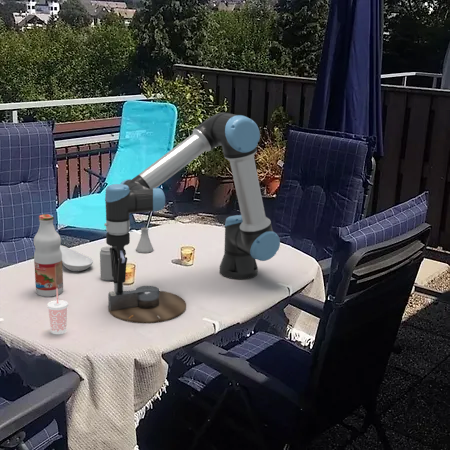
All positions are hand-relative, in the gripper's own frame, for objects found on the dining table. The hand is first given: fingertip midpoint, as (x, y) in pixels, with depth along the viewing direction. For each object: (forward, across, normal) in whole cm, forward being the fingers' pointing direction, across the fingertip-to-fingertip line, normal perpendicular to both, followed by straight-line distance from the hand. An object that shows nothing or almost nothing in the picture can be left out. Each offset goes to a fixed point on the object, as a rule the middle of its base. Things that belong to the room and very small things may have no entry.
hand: (118, 299), depth 211 cm
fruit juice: (+3, -22, -19) cm, 29 cm away
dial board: (+3, +3, +9) cm, 10 cm away
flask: (+3, -56, +27) cm, 63 cm away
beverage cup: (+3, +11, -22) cm, 25 cm away
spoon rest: (+3, -48, -8) cm, 49 cm away
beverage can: (+3, -28, +4) cm, 29 cm away
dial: (+2, +3, +5) cm, 6 cm away
